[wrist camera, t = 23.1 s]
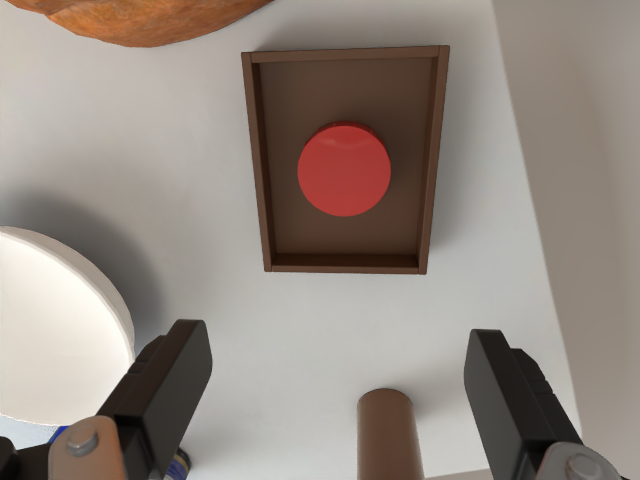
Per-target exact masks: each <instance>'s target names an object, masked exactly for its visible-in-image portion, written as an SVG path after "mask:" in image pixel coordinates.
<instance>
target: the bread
mask: <svg viewBox="0 0 640 480" xmlns="http://www.w3.org/2000/svg"><path fill="white" fill-rule="evenodd" d="M6 1H8V2H9V3H11V4H13V5H14V6H16V7H18V8H21V9H25V10H29V11H33V12H37V13H41V14H44V15H45V16H46V17H47V18H48V19H49V20H51V21H53V22H55V23H57V24H58V25H60V26H62V27H64V28H66V29H67V30H69V31H71V32H73V33H75V34H76V35H80V36H85V37H90V38H95V39H99V40H101V41H104V42H108V43H113V44H117V45H121V46H126V47H157V46H163V45H167V44H172V43H176V42H180V41H185V40H189V39H192V38H195V37H198V36H201V35H205V34H208V33H211V32H214V31H216V30H219V29H221V28H223V27H225V26H227V25H229V24H231V23H233V22H235V21H237V20H238V19H240V18H242V17H244V16H246V15H248V14H250V13H251V12H253V11H255V10H257V9H259V8H261V7H263V6H264V5H266V4H268V3H270V2H272V1H274V0H6Z"/></svg>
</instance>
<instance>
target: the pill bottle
mask: <svg viewBox="0 0 640 480" xmlns="http://www.w3.org/2000/svg"><path fill="white" fill-rule="evenodd" d="M189 470H190V463H189V459H188V458H187V456H186V455H185V454H184V453H183V452H182V451H181V450H179V449H177V451H176V453H175V455H174V458H173V460H172V462H171V464H170V466H169V468H168V471H167V473H166V475H165V477H164V479H163V480H186V478H187V475H188V473H189ZM147 480H152V479H147Z"/></svg>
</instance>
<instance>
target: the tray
mask: <svg viewBox="0 0 640 480" xmlns="http://www.w3.org/2000/svg"><path fill="white" fill-rule="evenodd" d="M449 53H450V46H449V45H443V46H413V47H384V48H354V49H325V50H295V51H266V52H242V53H241V58H242V67H243V77H244V86H245V95H246V104H247V114H248V123H249V132H250V142H251V151H252V160H253V169H254V179H255V188H256V197H257V207H258V216H259V225H260V235H261V244H262V253H263V262H264V271H265V272H306V273H362V274H419V275H426V273H427V264H428V254H429V244H430V235H431V225H432V216H433V206H434V197H435V187H436V177H437V168H438V158H439V149H440V139H441V129H442V120H443V110H444V101H445V91H446V82H447V72H448V62H449ZM334 121H336V122H338V121H352V122H353V121H355V122H357V123H360V124H363V125H365V126H367V127H369V128H370V127H371V128H372V130H373V131H374V132H375V133H376V134H377V135H378V136H379V137H380V138H381V140H383V141H384V144H385V147H386V150H387V153H388V156H389V157H390V160H391V163H390V165H391V177H390V182H389V185H388V188H387V190H386V192H385V194H384V196H383V197H382V198H381V200H380V201H379V202H378V203H377V204H376V205H374V206H373V207H372V208H370V209H369V210H367V211H365V212H363V213H361V214H357V215H353V216H335V215H331V214H328V213H325V212H323V211H321V210H320V209H318V208H316V207H315V206H314V205H313V204H312V203H311V202H310V201H309V200H308V199H307V198H306V196H305V195H304V193H303V191H302V189H301V187H300V184H299V180H298V161H299V159H300V155H301V153H302V151H303V149H304V145H305V143H306V141H308V140H309V139H310V138H311V136H312V135H313V134H314V133H315V132H316V131H317V130H318V128H322V127H324V126H326V125H328V124H330V123H333V122H334Z"/></svg>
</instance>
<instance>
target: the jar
mask: <svg viewBox="0 0 640 480" xmlns="http://www.w3.org/2000/svg"><path fill="white" fill-rule="evenodd" d="M357 480H425V477H424V471H423V464H422V458H421V452H420V445H419V439H418V433H417V426H416V420H415V414H414V408H413V404H412V402H411V400H410V399H409V398H408V397H407V396H406V395H405V394H403V393H401V392H399V391H396V390H392V389H377V390H373V391H371V392H368V393H367V394H365V395H364V396H363V397H362V398H361V399H360V400H359V402H358V405H357Z"/></svg>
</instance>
